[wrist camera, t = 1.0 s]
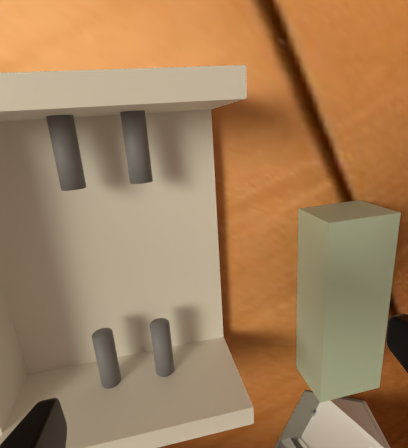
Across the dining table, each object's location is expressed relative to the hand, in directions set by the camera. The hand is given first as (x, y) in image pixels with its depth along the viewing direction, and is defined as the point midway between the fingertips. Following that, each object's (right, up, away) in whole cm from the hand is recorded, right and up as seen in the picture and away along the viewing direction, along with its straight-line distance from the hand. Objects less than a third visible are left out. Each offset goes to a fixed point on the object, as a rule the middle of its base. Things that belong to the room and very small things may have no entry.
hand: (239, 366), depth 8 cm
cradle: (-7, +2, +12) cm, 14 cm away
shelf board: (+9, -1, +17) cm, 19 cm away
